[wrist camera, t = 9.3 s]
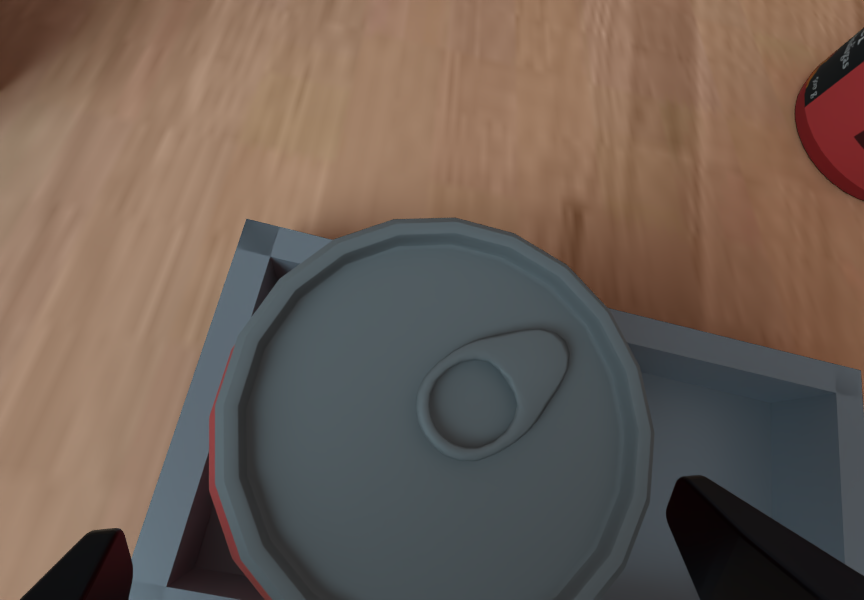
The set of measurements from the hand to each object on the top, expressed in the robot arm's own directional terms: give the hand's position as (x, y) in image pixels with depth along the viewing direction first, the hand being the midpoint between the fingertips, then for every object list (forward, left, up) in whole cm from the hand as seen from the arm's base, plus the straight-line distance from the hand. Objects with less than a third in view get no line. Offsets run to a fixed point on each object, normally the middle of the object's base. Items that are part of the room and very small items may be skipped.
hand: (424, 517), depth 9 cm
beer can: (+1, 0, -10) cm, 10 cm away
